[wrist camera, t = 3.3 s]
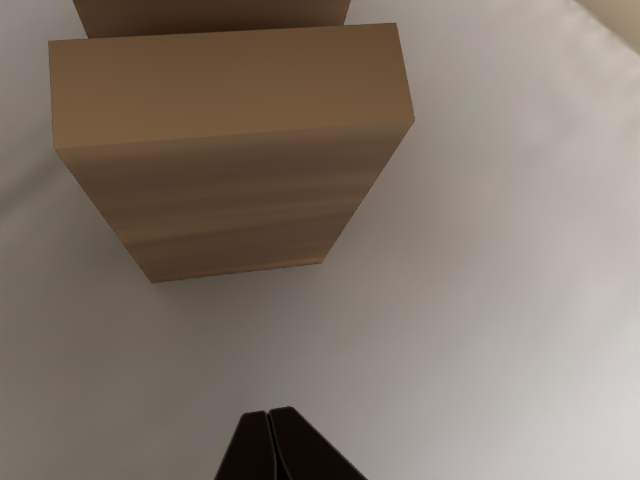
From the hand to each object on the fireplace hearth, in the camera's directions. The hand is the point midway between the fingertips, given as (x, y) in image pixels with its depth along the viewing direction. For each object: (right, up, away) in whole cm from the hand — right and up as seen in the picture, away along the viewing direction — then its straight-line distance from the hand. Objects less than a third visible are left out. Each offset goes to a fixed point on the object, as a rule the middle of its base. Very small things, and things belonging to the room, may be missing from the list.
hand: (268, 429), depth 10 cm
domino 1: (-2, +3, +8) cm, 9 cm away
